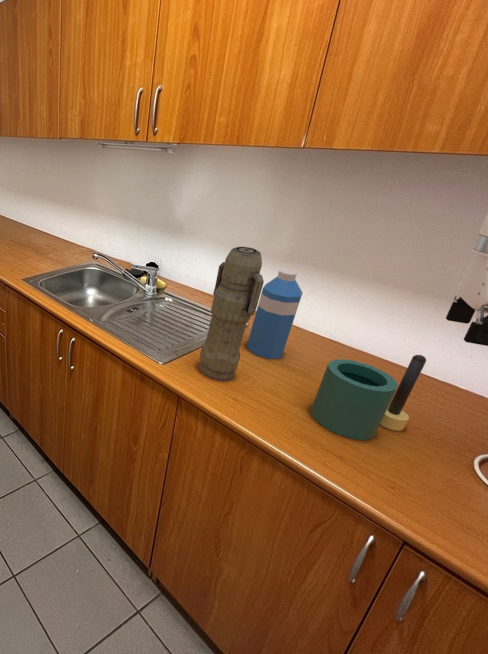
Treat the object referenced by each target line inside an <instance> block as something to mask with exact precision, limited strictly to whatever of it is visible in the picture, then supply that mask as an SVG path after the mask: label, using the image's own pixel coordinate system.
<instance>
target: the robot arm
mask: <svg viewBox="0 0 488 654" xmlns="http://www.w3.org/2000/svg"><path fill="white" fill-rule="evenodd" d="M470 251H471V253H473V256H472V257H471V258H470V260H469V263H468V265H467V267H466V268H465V270H464V271H463V274H462V276H461V279H460V280H459V283H458V286H457V290H456V292H457V294H455V296H454V297H453V302H452V303H451V306H450V307H449V310H448V312H447V314H446V315H445V320H447V321H449V322H454V323H461V324H470V325H469V327H468V329H467V331H466V333H465V335H464V338H463V341H464V342H465V343H468V344H469V343H470V344H473V345H480V346H485V347H488V315H486V316H485V313H487V314H488V212H487V213H486V215H485V218H484V219H483V223H482V224H481V227H480V229H479V231H478V234H477V236H476V238H475V241H474V243H473V245H472V247H471V248H470ZM474 315H475V321H472V319H473V317H474Z"/></svg>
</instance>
